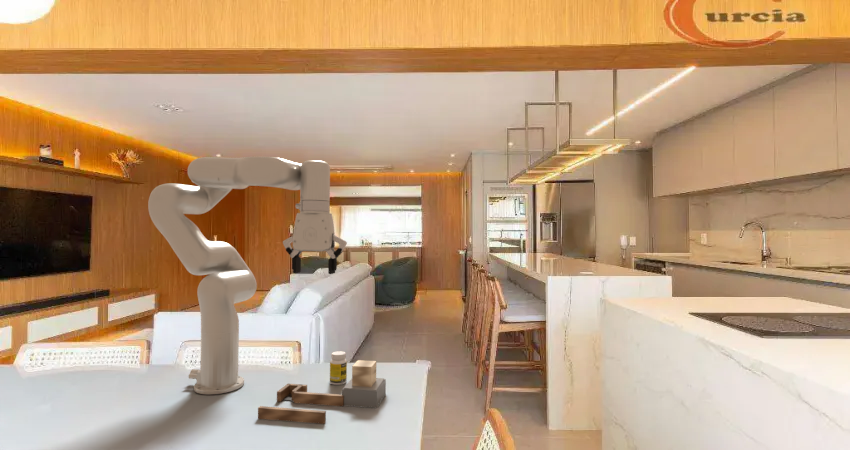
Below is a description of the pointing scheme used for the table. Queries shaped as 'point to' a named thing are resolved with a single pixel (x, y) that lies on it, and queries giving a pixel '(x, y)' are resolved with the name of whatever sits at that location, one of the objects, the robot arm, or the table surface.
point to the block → (364, 373)
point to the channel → (302, 396)
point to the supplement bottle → (338, 368)
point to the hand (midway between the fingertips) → (314, 273)
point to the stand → (364, 394)
